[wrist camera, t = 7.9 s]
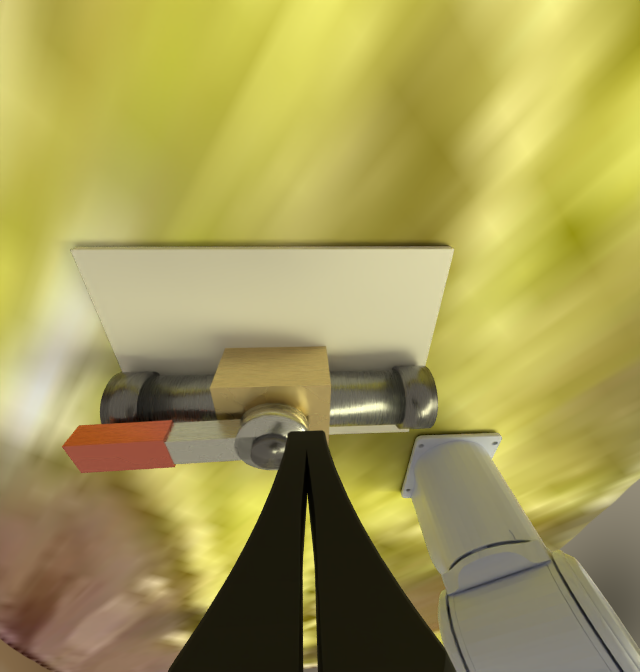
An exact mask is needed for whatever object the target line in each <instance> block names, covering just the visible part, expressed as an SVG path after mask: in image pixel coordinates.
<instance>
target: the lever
mask: <svg viewBox="0 0 640 672" xmlns="http://www.w3.org/2000/svg"><path fill="white" fill-rule="evenodd" d="M290 431H309V422H308V420H307V418H306V416H305V415H304V414H303V413H302V412H301V411H299V410H298V409H296V408H294V407H292V406H290V405H286V404H281V403H265V404H260V405H257V406H255V407H253V408H251V409H249V410H248V411H246V412H245V413H244V414H243V416H242V417H241V419H234V420H217V421H200V422H183V423H173V420H166V421H149V422H131V423H114V424H97V425H80V426H78V427H77V429H76V430H75V431H74V432H73V434H72V435H71V436H70V437H69V439H68V440H67V441H66V442H65V443H64V445H63V446H62V447H63V449H64V450H65V452H66V453H67V454H68V456H69V457H70V458H71V460H72V461H73V462H74V464H75V465H76V466H77V468H78V469H79V470H80V472H81V473H88V472H104V471H120V470H136V469H152V468H168V467H175V465H176V464H186V463H202V462H218V461H234V460H242V461H244V462H245V463H247V464H249V465H250V466H253V467H256V468H259V469H264V470H278V469H279V466H280V463H281V460H282V457H283V453H284V450H285V445H286V441H287V434H288V433H289V432H290Z"/></svg>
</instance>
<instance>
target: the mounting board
mask: <svg viewBox="0 0 640 672" xmlns="http://www.w3.org/2000/svg"><path fill="white" fill-rule="evenodd" d="M70 251H71V253H72V255H73V258H74V260H75V262H76V265H77V267H78V269H79V272H80V274H81V276H82V279H83V281H84V283H85V286H86V288H87V290H88V293H89V295H90V298H91V300H92V302H93V305H94V307H95V309H96V312H97V314H98V316H99V319H100V321H101V323H102V326H103V328H104V330H105V333H106V335H107V337H108V340H109V342H110V344H111V347H112V349H113V351H114V354H115V356H116V358H117V361H118V363H119V365H120V368H121V370H122V372H149V371H154V372H158V373H159V374H160V376H165V375H209V374H215V373H216V371H217V368H218V365H219V363H220V360H221V358H222V355H223V352H224V350H225V348H257V347H311V346H326V349H327V357H328V365H329V372H339V371H382V370H392V368H393V367H394V366H418V365H423V366H425V365H426V361H427V357H428V353H429V348H430V344H431V340H432V336H433V332H434V328H435V324H436V320H437V316H438V312H439V308H440V304H441V300H442V296H443V292H444V288H445V284H446V280H447V276H448V272H449V268H450V264H451V260H452V256H453V252H454V249H453V248H452V247H450V246H301V247H75V248H73V249H71V250H70ZM386 432H409V429H398V428H397V427H396V425H372V426H342V427H329V434H356V433H386Z"/></svg>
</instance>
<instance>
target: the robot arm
mask: <svg viewBox="0 0 640 672" xmlns="http://www.w3.org/2000/svg"><path fill="white" fill-rule="evenodd" d="M501 440H502V437H501V435H500V434H499V433H480V434H451V435H422V436H418V437H417V438H416V440H415V443H414V447H413V451H412V454H411V458H410V462H409V465H408V469H407V473H406V476H405V480H404V484H403V487H402V491H401V495H402V497H403V498H412V502H413V505H414V508H415V511H416V514H417V517H418V520H419V524H420V527H421V530H422V533H423V536H424V539H425V543H426V546H427V549H428V552H429V555H430V557H431V560H432V562H433V564H434V565H435V567H436V569H437V570H438V571H439V572H440V574H441V576H442V579H443V582H444V585H445V588H446V589H445V590H443V591H442V592H441V594H440V598H439V607H438V621H439V628H440V632H441V637H442V641H443V644H444V646H443V645H442V644H441V642H440V641H439V640H438V638H437V637H436V636H435V634H434V633H433V632H432V630H431V629H430V628H429V626H428V625H427V624H426V622H425V621H424V620H423V618H422V617H421V616H420V614H419V613H418V611H417V610H416V609H415V607H414V606H413V604H412V603H411V601H410V600H409V599H408V597H407V596H406V594H405V593H404V591H403V590H402V589H401V587H400V586H399V584H398V582H397V581H396V579H395V578H394V576H393V575H392V573H391V572H390V570H389V569H388V567H387V566H386V564H385V562H384V561H383V559H382V558H381V556H380V555H379V553H378V551H377V550H376V548H375V546H374V544H373V543H372V541H371V539H370V538H369V536H368V534H367V532H366V531H365V529H364V527H363V525H362V523H361V522H360V520H359V518H358V516H357V514H356V512H355V510H354V508H353V506H352V504H351V502H350V500H349V498H348V496H347V493H346V491H345V489H344V487H343V484H342V482H341V480H340V477H339V475H338V473H337V470H336V468H335V465H334V462H333V459H332V457H331V454H330V450H329V447H328V444H327V440H326V435H325V432H324V431H323V430H317V431H290V432H289V433H288V434H287V441H286V445H285V450H284V453H283V457H282V460H281V463H280V466H279V469H278V472H277V475H276V477H275V480H274V483H273V486H272V488H271V491H270V493H269V495H268V498H267V500H266V503H265V505H264V507H263V510H262V512H261V514H260V516H259V518H258V521H257V523H256V525H255V527H254V529H253V531H252V533H251V535H250V537H249V539H248V541H247V543H246V545H245V547H244V549H243V550H242V552H241V554H240V556H239V558H238V560H237V561H236V563H235V565H234V567H233V569H232V570H231V572H230V574H229V576H228V577H227V579H226V581H225V583H224V584H223V586H222V588H221V589H220V591H219V592H218V594H217V596H216V597H215V599H214V601H213V602H212V604H211V606H210V607H209V609H208V610H207V612H206V614H205V615H204V617H203V618H202V620H201V622H200V623H199V625H198V626H197V628H196V629H195V631H194V632H193V634H192V635H191V637H190V638H189V640H188V641H187V643H186V644H185V646H184V647H183V649H182V650H181V652H180V653H179V655H178V656H177V658H176V659H175V661H174V662H173V664H172V665H171V667H170V668H169V670H168V672H303V551H304V536H305V521H306V506H307V493H308V503H309V513H310V523H311V532H312V542H313V552H314V564H315V588H316V623H317V659H318V672H640V649H639V648H638V646H637V645H636V643H635V642H634V640H633V639H632V637H631V635H630V634H629V633H628V631H627V630H626V628H625V627H624V625H623V624H622V622H621V621H620V619H619V618H618V616H617V615H616V613H615V612H614V611H613V609H612V607H611V606H610V605H609V603H608V602H607V600H606V599H605V598H604V596H603V595H602V593H601V592H600V590H599V589H598V588H597V586H596V585H595V583H594V582H593V580H592V579H591V578H590V576H589V575H588V574H587V572H586V571H585V570H584V568H583V567H582V566H581V564H580V563H579V562H578V561H577V560H576V559H575V558H574V557H572V556H570V555H568V554H565V553H564V552H563V551H561V550H557V551H555V552H553V553H552V552H551V551H550V550H549V549H548V548H547V547H546V546H545V544H544V543H543V541H542V540H541V538H540V536H539V535H538V533H537V531H536V530H535V528H534V527H533V525H532V523H531V522H530V520H529V519H528V517H527V515H526V514H525V512H524V510H523V509H522V507H521V506H520V504H519V502H518V501H517V499H516V497H515V496H514V494H513V493H512V491H511V489H510V488H509V486H508V485H507V483H506V481H505V480H504V478H503V476H502V475H501V473H500V472H499V470H498V468H497V467H496V465H495V464H494V462H493V460H492V458H493V456H494V454H495V452H496V450H497V448H498V446H499V444H500V442H501ZM444 647H445V648H444Z"/></svg>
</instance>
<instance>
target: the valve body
mask: <svg viewBox="0 0 640 672" xmlns="http://www.w3.org/2000/svg"><path fill="white" fill-rule="evenodd" d="M265 403H281V404H286V405H290V406H292V407H294V408H296V409H298V410H299V411H301V412H302V413H303V414H304V415H305V416H306V418H307V420H308V422H309V431H317V430H323V431H324V432H325V435H326V440H327V444H328V446H329V427H342V426H372V425H396V427H397V428H398V429H419V428H431V427H432V426H433V425H434V423H435V421H436V417H437V411H438V397H437V390H436V385H435V381H434V378H433V376H432V374H431V372H430V370H429V369H428V368H427V367H426V366H423V365H418V366H394V367H393V368H392V370H382V371H339V372H329V365H328V357H327V349H326V346H311V347H257V348H225V350H224V352H223V355H222V358H221V360H220V363H219V365H218V368H217V371H216V373H215V374H209V375H165V376H160V374H159V373H158V372H154V371H149V372H121V373H118V374H116V375H115V376H114V377H113V378H112V379H111V380H110V381H109V383H108V384H107V386H106V388H105V390H104V393H103V396H102V399H101V405H100V419H101V424H114V423H131V422H149V421H166V420H173V423H183V422H200V421H217V420H234V419H241V417H242V416H243V414H244V413H245V412H246V411H248V410H249V409H251V408H253V407H255V406H257V405H260V404H265Z"/></svg>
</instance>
